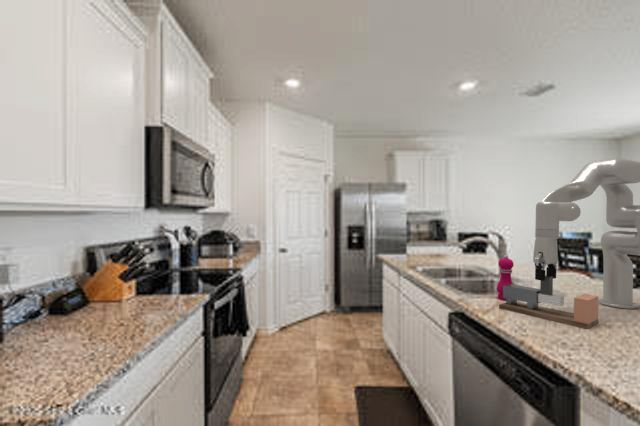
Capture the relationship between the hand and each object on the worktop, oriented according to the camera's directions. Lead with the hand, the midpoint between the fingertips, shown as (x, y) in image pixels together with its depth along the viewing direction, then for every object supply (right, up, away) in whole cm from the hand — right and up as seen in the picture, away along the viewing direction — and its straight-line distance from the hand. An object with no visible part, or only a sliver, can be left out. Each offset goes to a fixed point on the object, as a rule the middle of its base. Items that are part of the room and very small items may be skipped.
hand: (545, 279), depth 129 cm
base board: (0, -14, 0) cm, 14 cm away
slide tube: (-2, -9, +4) cm, 10 cm away
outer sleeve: (-5, -12, +7) cm, 15 cm away
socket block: (+8, -13, -10) cm, 18 cm away
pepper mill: (-2, -14, +24) cm, 28 cm away
